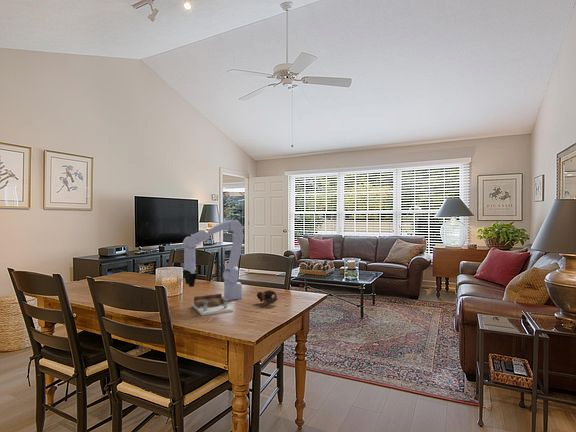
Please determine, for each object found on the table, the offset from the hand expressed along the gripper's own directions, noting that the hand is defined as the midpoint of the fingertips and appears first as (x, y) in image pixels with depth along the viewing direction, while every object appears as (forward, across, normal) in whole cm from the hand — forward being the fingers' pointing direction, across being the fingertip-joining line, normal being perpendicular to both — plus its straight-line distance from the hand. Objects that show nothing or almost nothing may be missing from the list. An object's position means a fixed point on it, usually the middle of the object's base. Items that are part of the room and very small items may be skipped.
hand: (189, 285), depth 178 cm
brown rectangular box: (+8, +11, +8) cm, 16 cm away
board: (+10, +15, +8) cm, 20 cm away
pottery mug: (+10, +19, +36) cm, 42 cm away
